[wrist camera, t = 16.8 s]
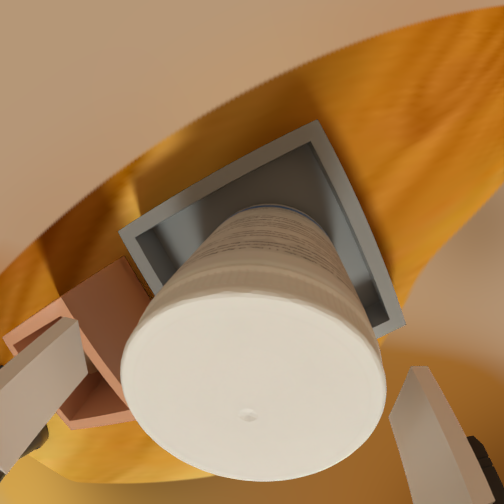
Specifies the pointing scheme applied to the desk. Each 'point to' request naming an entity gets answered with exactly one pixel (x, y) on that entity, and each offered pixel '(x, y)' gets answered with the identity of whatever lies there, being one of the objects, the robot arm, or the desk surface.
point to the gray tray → (271, 192)
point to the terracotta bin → (94, 340)
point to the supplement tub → (257, 353)
